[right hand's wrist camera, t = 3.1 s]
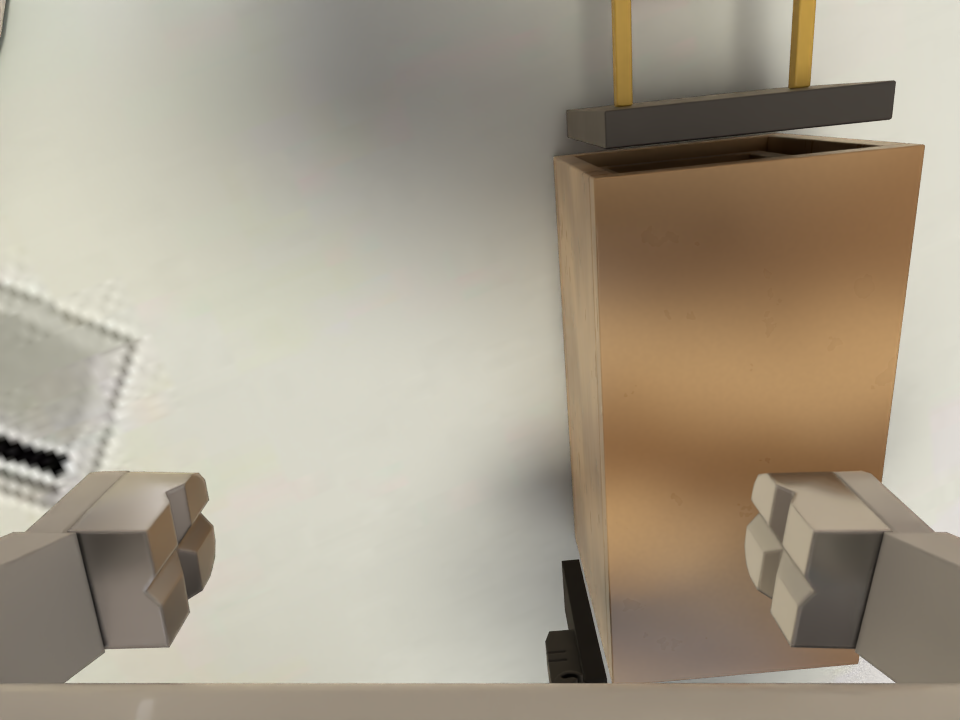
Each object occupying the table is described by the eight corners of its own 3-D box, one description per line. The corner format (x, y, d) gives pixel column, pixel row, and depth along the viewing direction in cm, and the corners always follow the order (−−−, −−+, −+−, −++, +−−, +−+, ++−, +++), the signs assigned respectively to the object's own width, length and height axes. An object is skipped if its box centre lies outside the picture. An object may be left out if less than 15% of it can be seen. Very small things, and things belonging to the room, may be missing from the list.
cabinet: (553, 156, 32) (593, 178, 22) (778, 132, 32) (926, 144, 22) (574, 537, 39) (612, 686, 29) (757, 520, 39) (858, 664, 29)
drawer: (559, -28, 28) (598, -85, 20) (784, -52, 28) (919, -120, 20) (585, 498, 37) (620, 612, 29) (755, 482, 37) (840, 591, 29)
